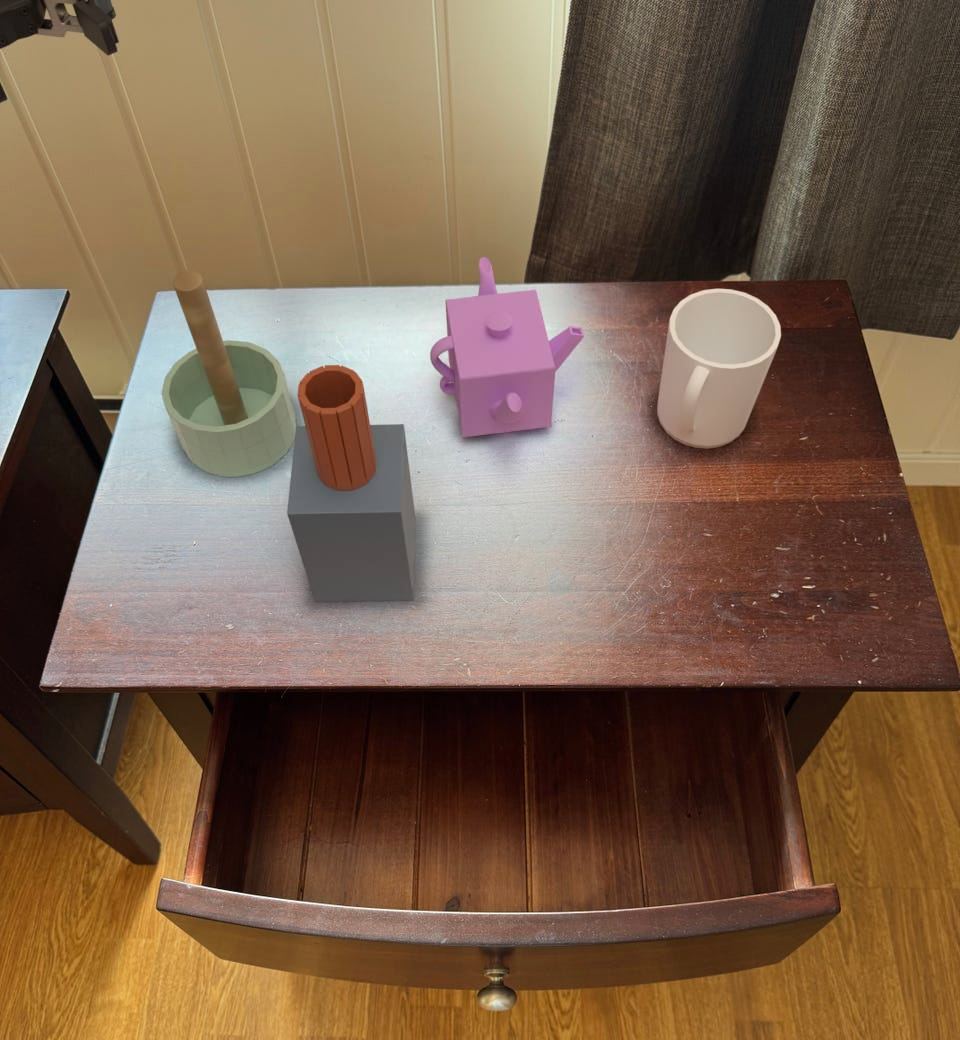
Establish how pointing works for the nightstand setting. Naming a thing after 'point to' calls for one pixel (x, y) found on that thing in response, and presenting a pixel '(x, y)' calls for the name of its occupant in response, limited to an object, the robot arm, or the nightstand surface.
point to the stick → (210, 345)
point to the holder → (350, 494)
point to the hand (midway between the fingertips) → (54, 63)
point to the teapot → (500, 359)
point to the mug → (715, 365)
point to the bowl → (202, 423)
